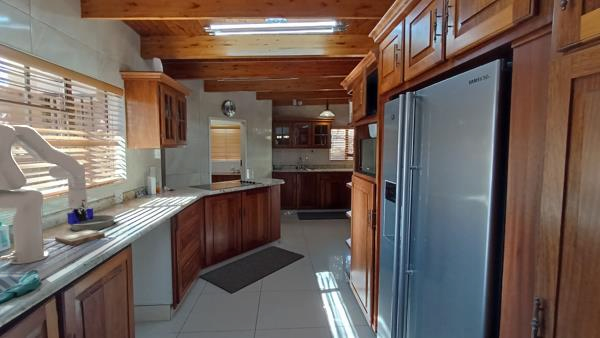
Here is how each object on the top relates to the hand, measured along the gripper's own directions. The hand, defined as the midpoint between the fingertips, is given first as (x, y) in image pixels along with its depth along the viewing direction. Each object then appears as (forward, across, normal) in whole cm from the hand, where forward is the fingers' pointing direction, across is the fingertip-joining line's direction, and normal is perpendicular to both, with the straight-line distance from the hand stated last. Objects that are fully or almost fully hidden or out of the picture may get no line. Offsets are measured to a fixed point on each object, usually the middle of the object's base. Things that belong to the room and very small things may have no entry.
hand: (79, 219), depth 161 cm
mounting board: (+10, 0, 0) cm, 10 cm away
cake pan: (+11, -22, +18) cm, 30 cm away
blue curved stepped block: (+1, 0, 0) cm, 1 cm away
